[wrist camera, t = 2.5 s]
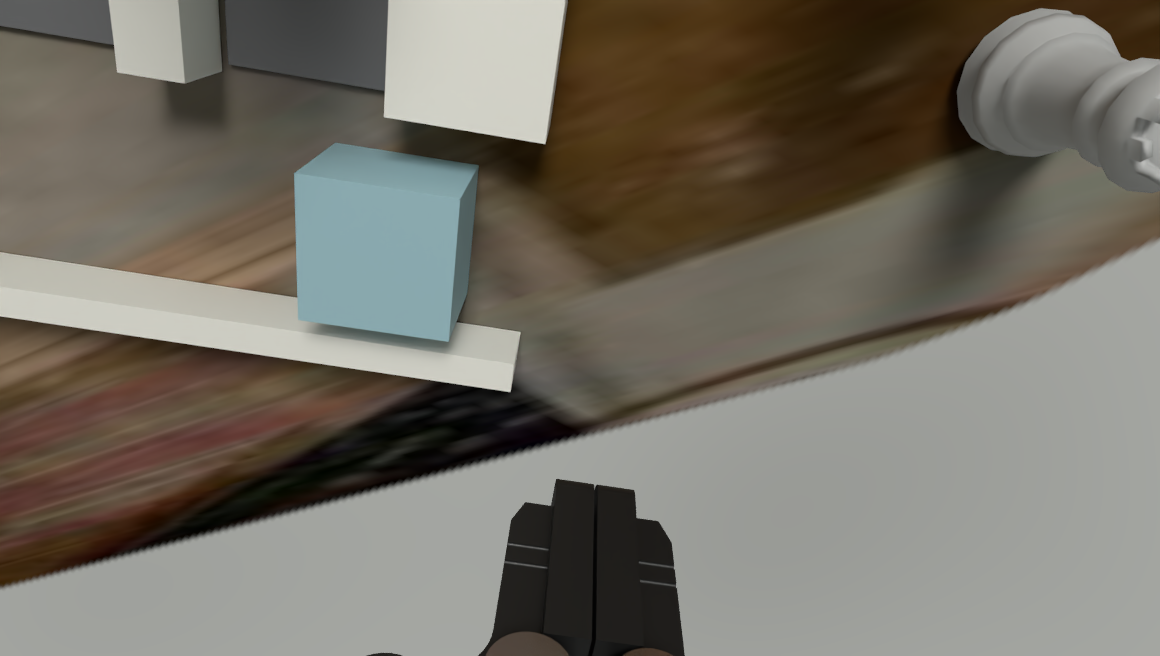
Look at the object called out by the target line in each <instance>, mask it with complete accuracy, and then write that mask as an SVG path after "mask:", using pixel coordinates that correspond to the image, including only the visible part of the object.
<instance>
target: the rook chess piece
mask: <svg viewBox="0 0 1160 656" xmlns="http://www.w3.org/2000/svg"><path fill="white" fill-rule="evenodd" d="M957 100H958V112H959V118H960V120H961V122H962V123H963V125H964V127H965V128H966V130H967V132H968V133H969V135H970V137H971V138H972V139H974V140H976V141H977V142H979V143H981V144H982V145H984V146H986V147H987V148H989V149H991V150H996V151H1000V152H1002V153H1004V154H1005V155H1015V156H1026V157H1039V156H1043V155H1046V154H1050V153H1053V152H1057V151H1060V150H1064V149H1066V148H1071V149H1076V150H1078V152H1079V154H1080V156H1081V157H1082V158H1084V159H1085V160H1087V161H1089V162H1090V163H1092V164H1093V165H1095V166H1097V167H1102V168H1103V170H1104V172H1105V174H1106V176H1107V178H1108V179H1109V180H1111V181H1112V182H1114V183H1116V184H1117V185H1119V186H1120V187H1122V188H1124V189H1125V190H1127V191H1136V192H1147V193H1154V192H1158V191H1160V60H1158V59H1148V58H1140V59H1136V60H1133V61H1128V60H1126V59H1123V58H1121V57H1120V55H1119V53H1118V50H1117V48H1116V46H1115V44H1114V42H1113V40H1112V38H1111V36H1110V34H1109V33H1108V32H1107V31H1105V30H1104V29H1103V28H1101V27H1100V26H1098V25H1097V24H1095V23H1094V22H1092V21H1091V20H1089V19H1088V18H1086V17H1085V16H1081V15H1073V14H1072V13H1070V12H1069V11H1063V10H1052V9H1042V8H1040V9H1037V10H1033V11H1030V12H1027V13H1024V14H1020V15H1017V16H1014V17H1011V18H1009V19H1008V20H1007V21H1005V22H1004V23H1003V24H1001V25H1000V26H999V27H997V28H996V29H994V30H993V31H992V32H990V33H989V34H988V35H986V36H985V37H984V38H983V40H982V41H981V42H980V44H979V45H978V46H977V48H976V49H975V51H974V52H973V53H972V55H971V56H970V57H969V59H968V60H967V62H966V63H965V66H964V70H963V73H962V76H961V79H960V82H959V86H958V89H957Z"/></svg>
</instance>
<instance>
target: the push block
mask: <svg viewBox="0 0 1160 656" xmlns="http://www.w3.org/2000/svg"><path fill="white" fill-rule="evenodd" d="M478 169H479V165H475V164H468V163H462V162H455V161H449V160H443V159H436V158H430V157H423V156H417V155H411V154H404V153H398V152H391V151H385V150H379V149H372V148H366V147H359V146H353V145H347V144H340V143H334V144H333V145H332V146H330V147H329V148H327V149H326V150H325V151H323V152H322V153H321V154H319V155H318V156H317V157H315V158H314V159H313V160H311V161H310V162H309V163H307V164H306V165H305V166H303V167H302V168H300V169H299V170H298V171H296V172H295V173H294V184H295V222H296V260H297V297H298V320H301V321H308V322H315V323H322V324H329V325H336V326H343V327H350V328H357V329H363V330H370V331H377V332H384V333H391V334H398V335H405V336H412V337H419V338H425V339H432V340H439V341H446V342H449V340H450V337H451V334H452V332H453V329H454V327H455V324H456V321H457V319H458V316H459V314H460V311H461V308H462V306H463V303H464V301H465V298H466V295H467V290H468V279H469V268H470V257H471V246H472V235H473V224H474V213H475V202H476V191H477V180H478Z"/></svg>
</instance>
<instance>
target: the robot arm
mask: <svg viewBox="0 0 1160 656" xmlns="http://www.w3.org/2000/svg"><path fill="white" fill-rule="evenodd" d="M368 656H401V655H398V654H393V653H378V654H372V655H368ZM479 656H685V655H684V647H683V637H682V629H681V621H680V612H679V603H678V594H677V588H676V577H675V570H674V560H673V551H672V543H671V541H670V539H669V538H668V536H667V535H666V533H665V531H664V530H663V528H662V527H661V525H660V523H659V522H658V521H652V520H646V519H638V518H636V502H635V492H634V490H630V489H623V488H616V487H609V486H602V485H596V487H595V490H594V485H593V484H588V483H581V482H574V481H567V480H560V479H556V483H555V487H554V493H553V498H552V504H551V506H548V505H540V504H533V503H527V502H526V503H524V505H523V506H522V507H521V509H520V510H519V511H518V512H517V513H516V515H515V516H514V517H513V518H512V520H511V524H510V531H509V537H508V543H507V549H506V555H505V562H504V568H503V574H502V580H501V586H500V592H499V599H498V605H497V612H496V618H495V623H494V630H493V633H492V637H491V639H490V641H489V643H488V645H487V646H486V648H485V649H484V650H483V651H482V652H481V654H479Z"/></svg>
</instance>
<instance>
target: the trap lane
mask: <svg viewBox="0 0 1160 656" xmlns="http://www.w3.org/2000/svg"><path fill="white" fill-rule="evenodd" d="M567 3H568V0H225V13H226V31H227V50H228V64H229V65H235V66H241V67H247V68H252V69H258V70H264V71H270V72H276V73H282V74H288V75H294V76H300V77H306V78H311V79H317V80H323V81H329V82H335V83H341V84H347V85H353V86H359V87H364V88H370V89H376V90H382V91H385V101H384V117H386V118H392V119H398V120H404V121H410V122H416V123H422V124H428V125H434V126H440V127H446V128H452V129H458V130H464V131H470V132H476V133H482V134H488V135H494V136H500V137H505V138H511V139H517V140H523V141H529V142H535V143H541V144H545V143H546V140H547V136H548V132H549V128H550V122H551V115H552V108H553V101H554V94H555V87H556V80H557V73H558V66H559V59H560V52H561V45H562V38H563V31H564V24H565V17H566V10H567ZM0 26H5V27H11V28H17V29H23V30H29V31H35V32H40V33H46V34H52V35H58V36H64V37H70V38H76V39H82V40H88V41H93V42H99V43H105V44H111V45H114V49H115V58H116V66H117V72H118V73H124V74H130V75H136V76H142V77H148V78H154V79H160V80H166V81H172V82H178V83H184V84H186V83H189V82H192V81H195V80H198V79H201V78H204V77H207V76H210V75H213V74H216V73H219V72H222V57H221V40H220V23H219V6H218V0H0ZM0 316H2V317H9V318H15V319H22V320H29V321H36V322H42V323H49V324H56V325H62V326H69V327H76V328H83V329H89V330H96V331H103V332H110V333H116V334H123V335H130V336H136V337H143V338H150V339H157V340H163V341H170V342H177V343H184V344H190V345H197V346H204V347H210V348H217V349H224V350H231V351H237V352H244V353H251V354H258V355H264V356H271V357H278V358H284V359H291V360H298V361H305V362H311V363H318V364H325V365H332V366H338V367H345V368H352V369H358V370H365V371H372V372H379V373H385V374H392V375H399V376H406V377H412V378H419V379H426V380H432V381H439V382H446V383H453V384H459V385H466V386H473V387H480V388H486V389H493V390H500V391H506V392H511V386H512V381H513V376H514V371H515V366H516V361H517V355H518V348H519V341H520V334H521V332H517V331H511V330H504V329H498V328H491V327H485V326H478V325H472V324H465V323H459V322H456V324H455V327H454V329H453V332H452V334H451V337H450V340H449V342H446V341H439V340H432V339H425V338H419V337H412V336H405V335H398V334H391V333H384V332H377V331H370V330H363V329H357V328H350V327H343V326H336V325H329V324H322V323H315V322H308V321H301V320H298V298H296V297H289V296H283V295H276V294H270V293H263V292H257V291H250V290H243V289H237V288H230V287H224V286H217V285H211V284H204V283H198V282H191V281H185V280H178V279H172V278H165V277H159V276H152V275H146V274H139V273H133V272H126V271H120V270H113V269H107V268H100V267H93V266H87V265H80V264H74V263H67V262H61V261H54V260H48V259H41V258H35V257H28V256H22V255H15V254H9V253H2V252H0Z"/></svg>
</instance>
